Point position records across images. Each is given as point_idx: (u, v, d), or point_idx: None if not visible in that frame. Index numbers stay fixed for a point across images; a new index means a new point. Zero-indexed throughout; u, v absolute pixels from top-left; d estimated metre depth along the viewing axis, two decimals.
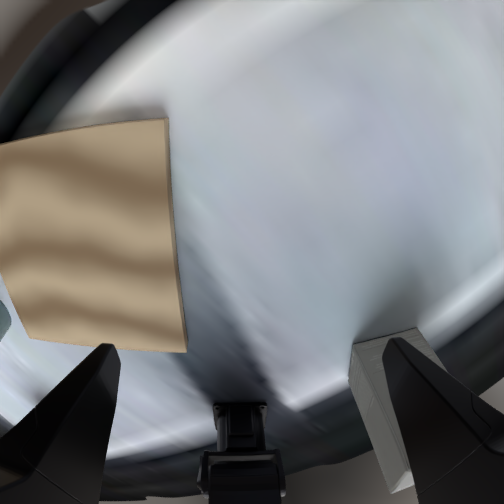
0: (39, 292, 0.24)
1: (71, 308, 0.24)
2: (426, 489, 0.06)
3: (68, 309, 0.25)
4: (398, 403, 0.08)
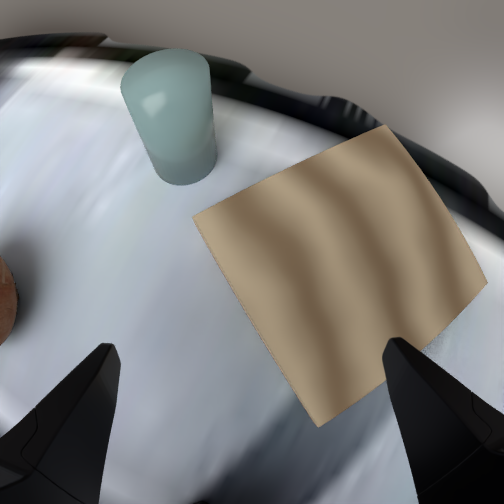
0: (297, 225, 0.23)
1: (302, 272, 0.22)
2: (426, 489, 0.06)
3: (298, 269, 0.22)
4: (398, 403, 0.08)
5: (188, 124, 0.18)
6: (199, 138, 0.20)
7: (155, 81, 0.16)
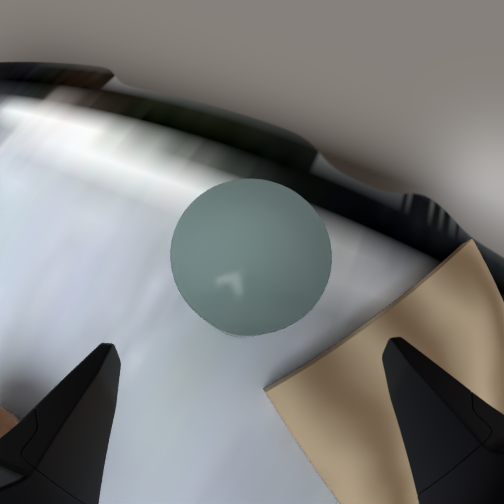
0: (384, 391, 0.17)
1: (385, 440, 0.17)
2: (426, 488, 0.06)
3: (381, 437, 0.17)
4: (398, 403, 0.08)
5: None
6: None
7: (240, 266, 0.11)
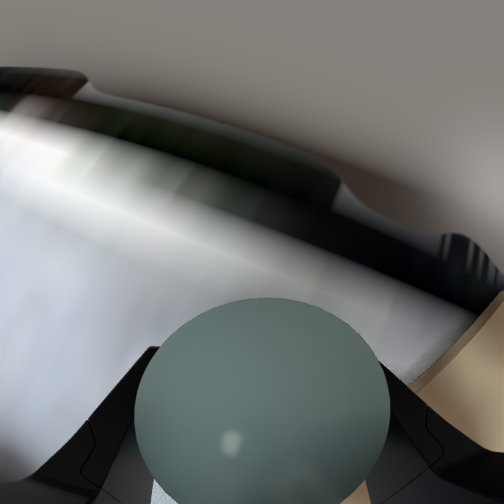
0: None
1: None
2: None
3: None
4: None
5: None
6: None
7: (247, 452, 0.06)
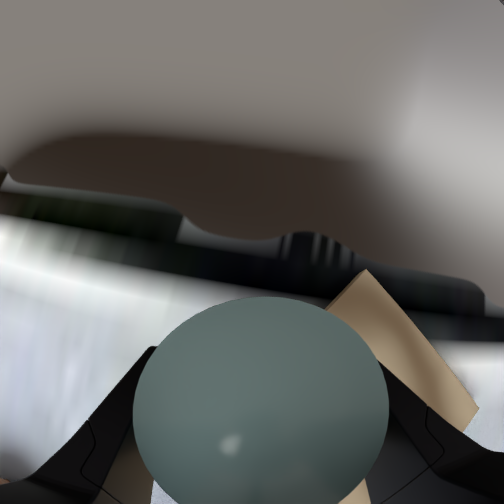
0: None
1: None
2: None
3: None
4: None
5: None
6: None
7: (245, 450, 0.06)
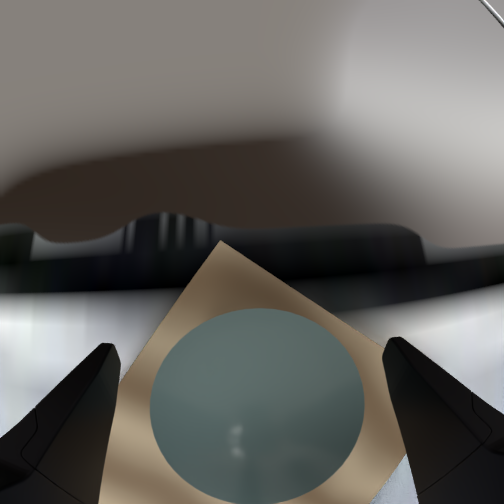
0: (155, 463, 0.15)
1: None
2: (426, 489, 0.06)
3: (180, 503, 0.14)
4: (398, 403, 0.08)
5: None
6: None
7: (243, 435, 0.07)
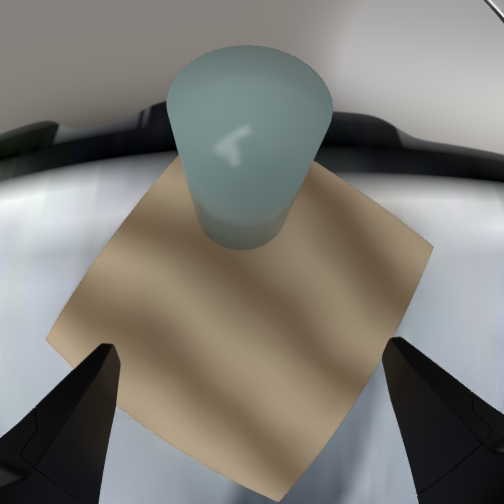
0: (148, 303, 0.17)
1: (177, 358, 0.17)
2: (425, 489, 0.06)
3: (170, 356, 0.17)
4: (398, 403, 0.08)
5: (288, 186, 0.11)
6: (290, 200, 0.14)
7: (238, 104, 0.09)
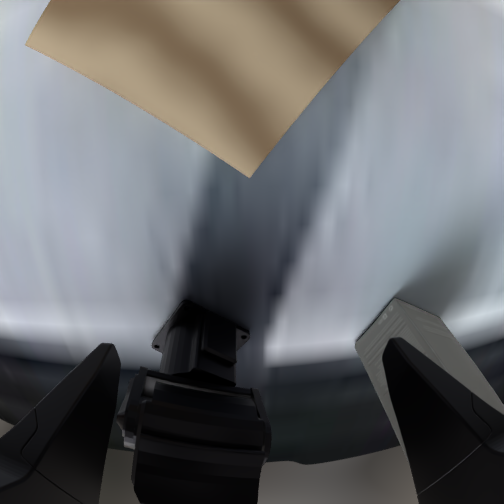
0: None
1: (151, 19, 0.13)
2: (425, 488, 0.06)
3: (145, 18, 0.13)
4: (398, 403, 0.08)
5: None
6: None
7: None
